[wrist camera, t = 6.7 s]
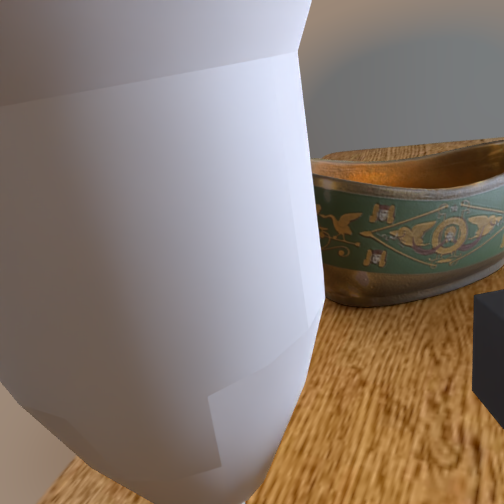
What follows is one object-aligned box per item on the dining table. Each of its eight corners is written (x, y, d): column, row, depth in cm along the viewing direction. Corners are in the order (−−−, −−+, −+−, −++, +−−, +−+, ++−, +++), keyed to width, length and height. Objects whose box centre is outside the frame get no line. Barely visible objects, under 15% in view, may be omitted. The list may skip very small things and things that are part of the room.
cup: (291, 245, 44) (275, 138, 41) (531, 237, 38) (540, 108, 34) (250, 317, 33) (223, 180, 30) (579, 325, 27) (601, 148, 23)
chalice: (438, 877, 10) (410, -134, 3) (133, 913, 10) (-487, 39, 4) (357, 550, 17) (293, -4, 10) (174, 576, 17) (-12, 52, 10)
